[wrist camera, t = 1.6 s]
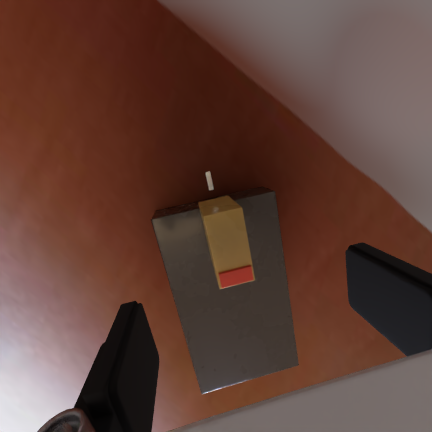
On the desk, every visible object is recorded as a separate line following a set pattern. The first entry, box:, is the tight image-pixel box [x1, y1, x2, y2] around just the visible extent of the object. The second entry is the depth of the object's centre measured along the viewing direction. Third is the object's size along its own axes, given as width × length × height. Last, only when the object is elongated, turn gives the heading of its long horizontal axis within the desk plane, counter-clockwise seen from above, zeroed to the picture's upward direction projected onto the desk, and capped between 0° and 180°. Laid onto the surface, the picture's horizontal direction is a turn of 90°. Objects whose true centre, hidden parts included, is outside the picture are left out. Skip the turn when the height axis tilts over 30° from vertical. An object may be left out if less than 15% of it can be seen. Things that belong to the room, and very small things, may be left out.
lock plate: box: [151, 171, 299, 394], centre depth 22 cm, size 21×10×3 cm, turn 11°
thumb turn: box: [198, 196, 255, 289], centre depth 17 cm, size 5×2×5 cm, turn 11°
